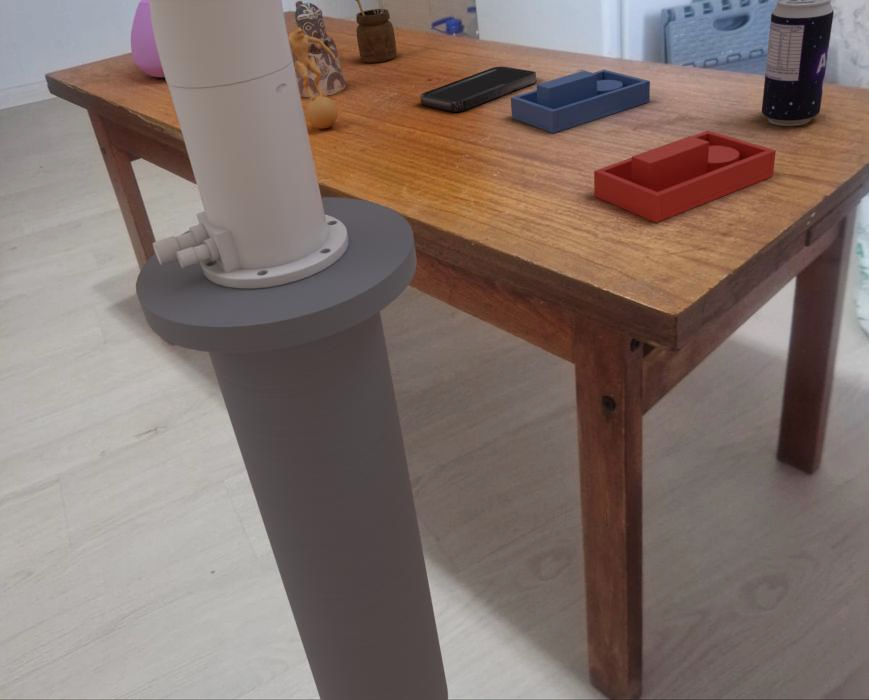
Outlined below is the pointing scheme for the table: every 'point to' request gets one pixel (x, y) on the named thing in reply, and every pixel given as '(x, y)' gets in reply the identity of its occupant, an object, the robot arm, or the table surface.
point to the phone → (477, 88)
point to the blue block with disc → (573, 89)
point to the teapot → (145, 42)
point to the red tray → (689, 194)
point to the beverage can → (796, 60)
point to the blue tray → (582, 104)
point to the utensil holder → (375, 35)
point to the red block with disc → (679, 163)
